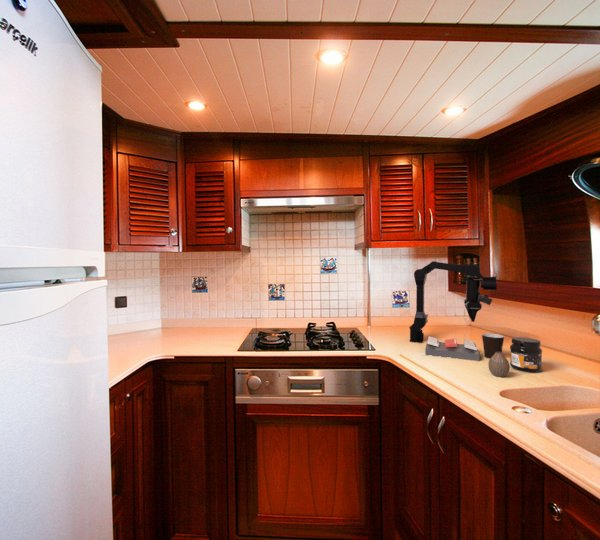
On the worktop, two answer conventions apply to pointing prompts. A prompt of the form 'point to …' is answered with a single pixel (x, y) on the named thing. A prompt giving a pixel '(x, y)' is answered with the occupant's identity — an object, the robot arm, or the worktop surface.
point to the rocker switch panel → (452, 351)
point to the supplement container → (526, 354)
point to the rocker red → (451, 343)
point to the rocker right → (470, 345)
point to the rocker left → (433, 341)
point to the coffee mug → (492, 344)
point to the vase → (499, 365)
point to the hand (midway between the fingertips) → (472, 320)
